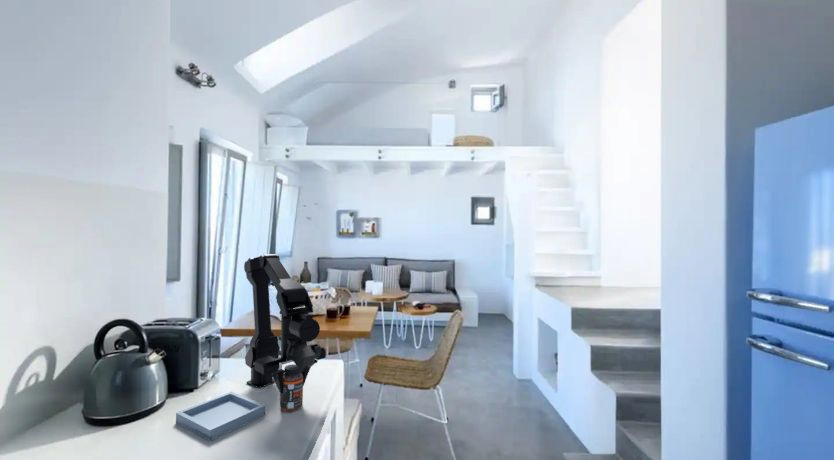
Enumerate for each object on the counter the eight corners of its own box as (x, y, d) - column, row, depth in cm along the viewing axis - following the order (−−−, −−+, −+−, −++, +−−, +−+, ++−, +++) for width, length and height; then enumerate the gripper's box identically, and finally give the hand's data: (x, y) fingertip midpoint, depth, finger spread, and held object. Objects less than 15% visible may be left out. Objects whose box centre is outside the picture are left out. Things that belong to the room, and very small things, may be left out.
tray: (175, 422, 99) (176, 412, 99) (231, 400, 112) (231, 391, 112) (209, 440, 91) (210, 430, 91) (265, 414, 104) (265, 405, 104)
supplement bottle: (295, 414, 105) (296, 371, 104) (275, 411, 106) (276, 369, 106) (306, 403, 110) (307, 363, 110) (287, 401, 112) (287, 362, 111)
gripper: (275, 347, 95) (274, 411, 96) (338, 332, 109) (337, 387, 110) (253, 337, 103) (253, 396, 103) (315, 324, 117) (314, 376, 117)
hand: (291, 389), depth 108 cm, fingers closed on supplement bottle, 6 cm apart
